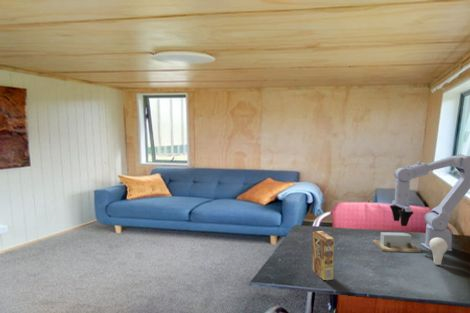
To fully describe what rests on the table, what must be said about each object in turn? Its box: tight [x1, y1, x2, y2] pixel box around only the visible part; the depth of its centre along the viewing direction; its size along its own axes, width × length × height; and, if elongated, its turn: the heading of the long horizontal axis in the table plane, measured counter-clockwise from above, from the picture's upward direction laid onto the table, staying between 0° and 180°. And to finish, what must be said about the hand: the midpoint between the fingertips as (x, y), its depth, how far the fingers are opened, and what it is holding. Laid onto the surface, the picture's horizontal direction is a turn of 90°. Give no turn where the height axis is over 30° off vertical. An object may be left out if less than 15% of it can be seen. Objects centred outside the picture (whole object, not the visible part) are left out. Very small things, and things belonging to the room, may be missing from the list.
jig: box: [372, 239, 421, 253], centre depth 143 cm, size 16×12×3 cm
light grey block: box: [379, 231, 413, 246], centre depth 143 cm, size 12×4×5 cm, turn 86°
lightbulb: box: [429, 237, 448, 266], centre depth 123 cm, size 6×6×11 cm
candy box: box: [312, 230, 335, 281], centre depth 115 cm, size 9×4×15 cm, turn 13°
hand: (400, 223), depth 144 cm, fingers open, 7 cm apart
